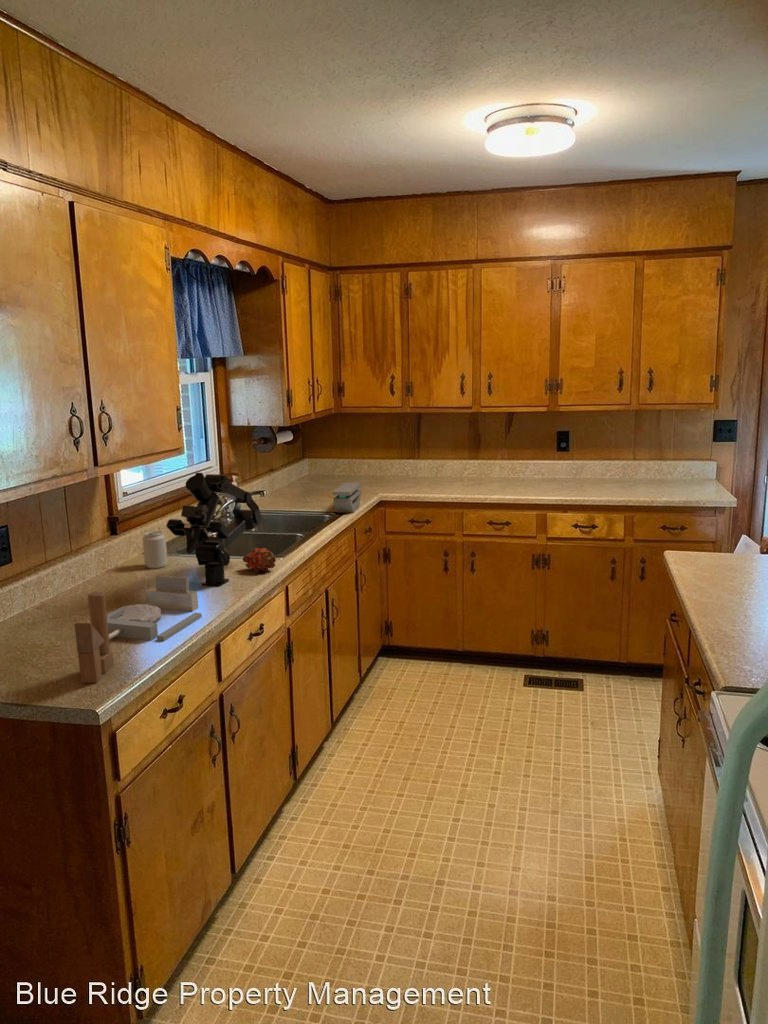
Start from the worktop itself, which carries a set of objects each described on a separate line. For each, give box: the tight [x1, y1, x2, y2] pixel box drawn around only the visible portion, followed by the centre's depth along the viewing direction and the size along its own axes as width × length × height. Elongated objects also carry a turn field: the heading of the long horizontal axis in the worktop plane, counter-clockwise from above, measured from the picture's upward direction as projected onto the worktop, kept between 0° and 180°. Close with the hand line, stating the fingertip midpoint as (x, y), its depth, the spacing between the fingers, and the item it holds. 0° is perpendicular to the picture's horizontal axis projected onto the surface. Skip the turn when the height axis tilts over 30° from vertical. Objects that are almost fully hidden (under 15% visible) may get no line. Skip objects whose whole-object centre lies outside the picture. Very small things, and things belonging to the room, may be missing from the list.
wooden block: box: [73, 591, 114, 684], centre depth 168 cm, size 4×11×18 cm, turn 0°
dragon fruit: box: [242, 547, 277, 573], centre depth 248 cm, size 8×8×12 cm
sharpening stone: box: [332, 481, 362, 514], centre depth 342 cm, size 25×8×11 cm, turn 170°
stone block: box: [117, 603, 162, 624], centre depth 201 cm, size 12×5×10 cm
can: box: [142, 530, 169, 570], centre depth 255 cm, size 8×8×12 cm
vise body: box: [107, 605, 203, 642], centre depth 195 cm, size 29×25×4 cm
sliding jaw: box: [145, 574, 199, 613], centre depth 213 cm, size 3×15×9 cm, turn 72°
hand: (188, 553), depth 220 cm, fingers closed
